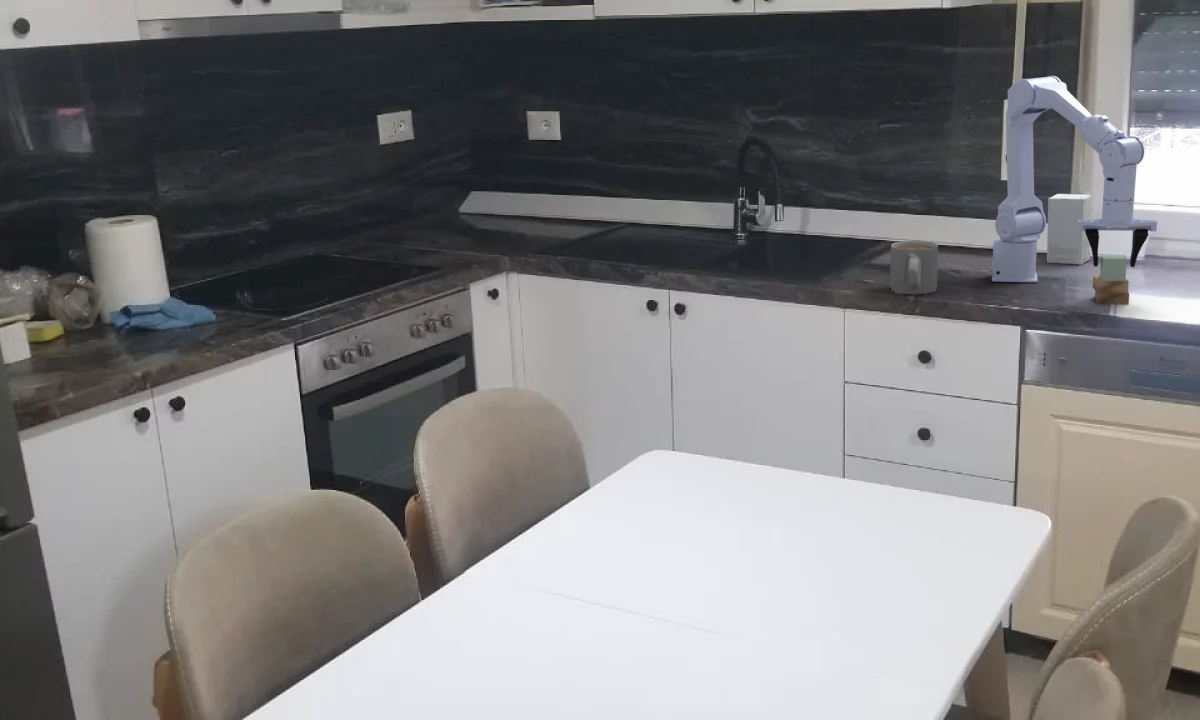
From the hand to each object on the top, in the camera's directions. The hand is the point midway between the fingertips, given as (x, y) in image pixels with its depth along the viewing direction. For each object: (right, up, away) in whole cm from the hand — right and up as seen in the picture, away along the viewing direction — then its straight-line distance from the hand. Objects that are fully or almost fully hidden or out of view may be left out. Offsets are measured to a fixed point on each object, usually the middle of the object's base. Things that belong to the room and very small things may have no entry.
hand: (1113, 265), depth 239 cm
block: (0, -3, +1) cm, 3 cm away
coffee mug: (-36, -4, +19) cm, 41 cm away
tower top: (0, -5, +2) cm, 5 cm away
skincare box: (+6, +4, +38) cm, 38 cm away
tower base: (+1, -7, +2) cm, 8 cm away
